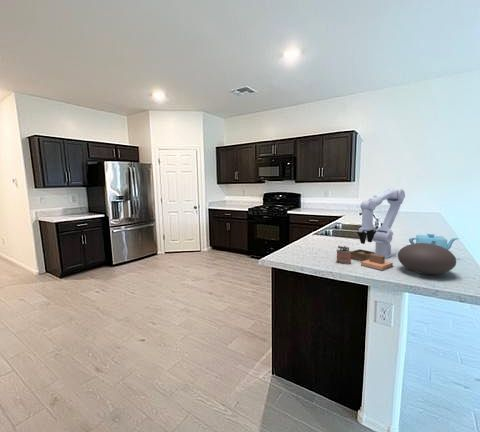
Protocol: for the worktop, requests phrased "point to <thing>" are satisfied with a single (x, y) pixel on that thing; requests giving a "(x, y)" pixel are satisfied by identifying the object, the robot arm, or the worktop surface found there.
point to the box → (361, 255)
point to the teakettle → (433, 240)
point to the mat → (379, 269)
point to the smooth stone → (427, 258)
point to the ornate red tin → (343, 255)
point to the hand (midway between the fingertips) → (366, 242)
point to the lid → (377, 262)
